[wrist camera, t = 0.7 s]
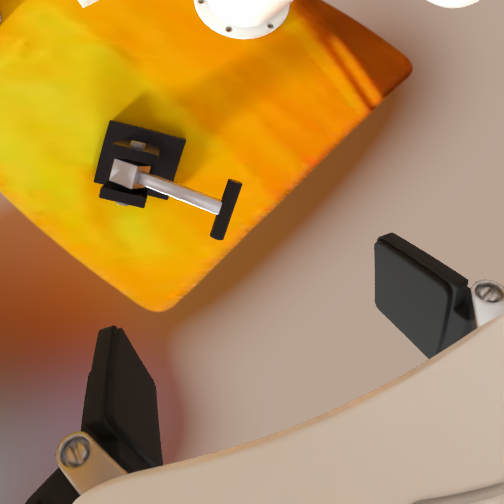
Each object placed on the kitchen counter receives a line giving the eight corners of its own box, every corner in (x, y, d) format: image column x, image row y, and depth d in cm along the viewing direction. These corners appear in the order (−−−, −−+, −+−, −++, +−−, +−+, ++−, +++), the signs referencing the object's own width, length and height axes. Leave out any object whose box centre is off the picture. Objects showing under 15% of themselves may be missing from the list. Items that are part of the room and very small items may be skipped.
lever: (246, 183, 26) (238, 184, 24) (227, 237, 28) (218, 243, 26) (132, 144, 28) (118, 143, 26) (119, 192, 29) (105, 194, 27)
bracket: (185, 139, 38) (194, 147, 26) (167, 197, 40) (169, 230, 29) (111, 120, 34) (87, 120, 23) (95, 180, 36) (68, 207, 25)
